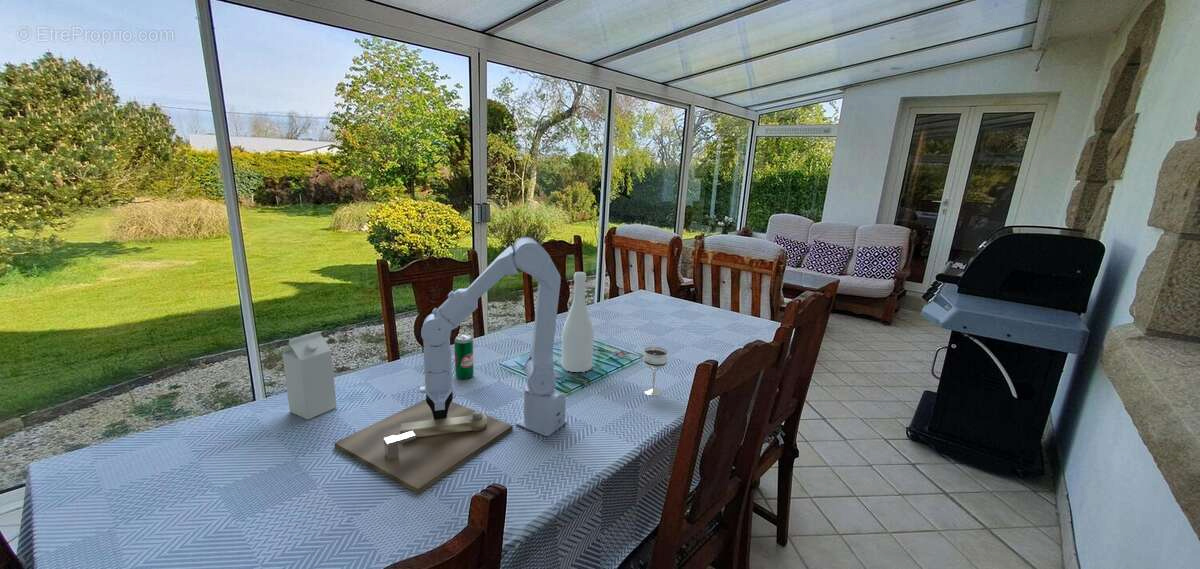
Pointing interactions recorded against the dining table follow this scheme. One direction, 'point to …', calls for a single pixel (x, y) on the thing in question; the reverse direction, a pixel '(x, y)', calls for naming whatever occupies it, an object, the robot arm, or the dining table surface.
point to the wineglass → (654, 365)
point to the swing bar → (446, 425)
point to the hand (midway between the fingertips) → (440, 423)
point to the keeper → (396, 444)
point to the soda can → (464, 356)
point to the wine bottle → (578, 331)
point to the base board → (421, 446)
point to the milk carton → (309, 376)
